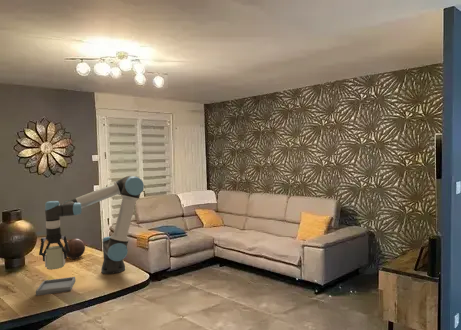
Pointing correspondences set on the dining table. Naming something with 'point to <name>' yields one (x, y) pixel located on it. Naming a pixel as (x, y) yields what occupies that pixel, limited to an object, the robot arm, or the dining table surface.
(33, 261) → the dining table surface
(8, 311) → the dining table surface
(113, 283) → the dining table surface
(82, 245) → the wooden sphere
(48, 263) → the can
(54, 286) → the tray
